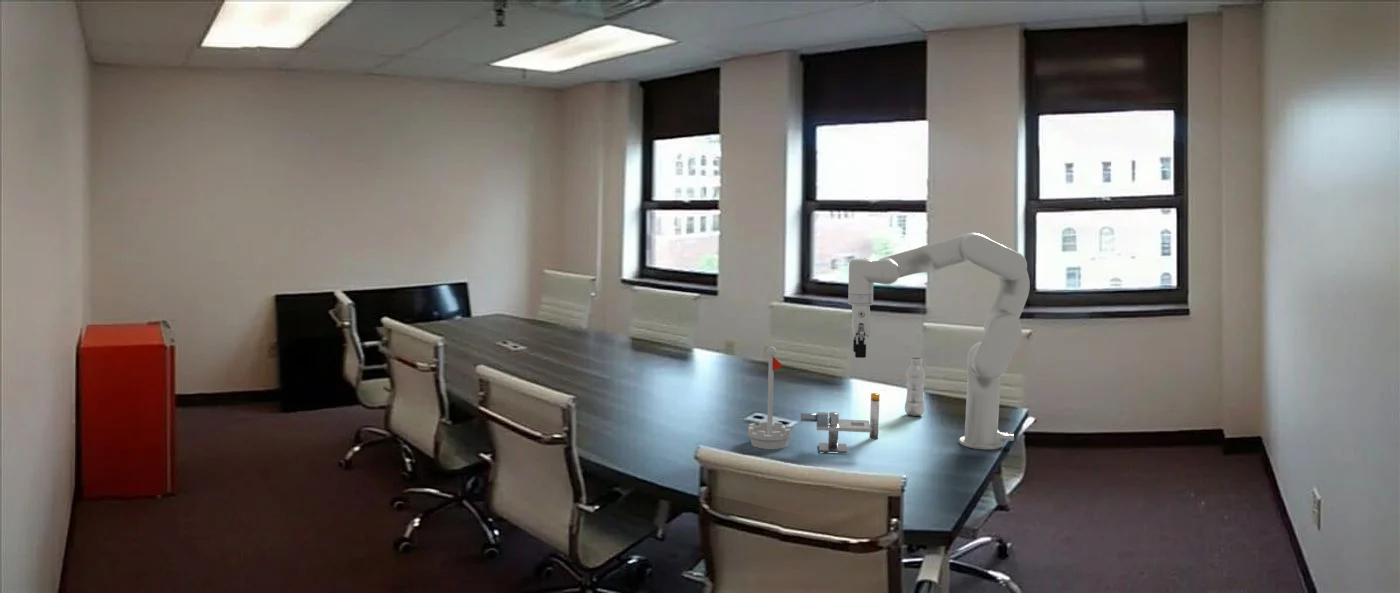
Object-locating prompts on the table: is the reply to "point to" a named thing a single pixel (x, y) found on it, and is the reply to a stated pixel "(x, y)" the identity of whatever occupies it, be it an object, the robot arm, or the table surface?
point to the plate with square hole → (835, 429)
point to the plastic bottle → (915, 388)
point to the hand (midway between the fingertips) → (859, 354)
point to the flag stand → (770, 417)
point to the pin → (874, 415)
